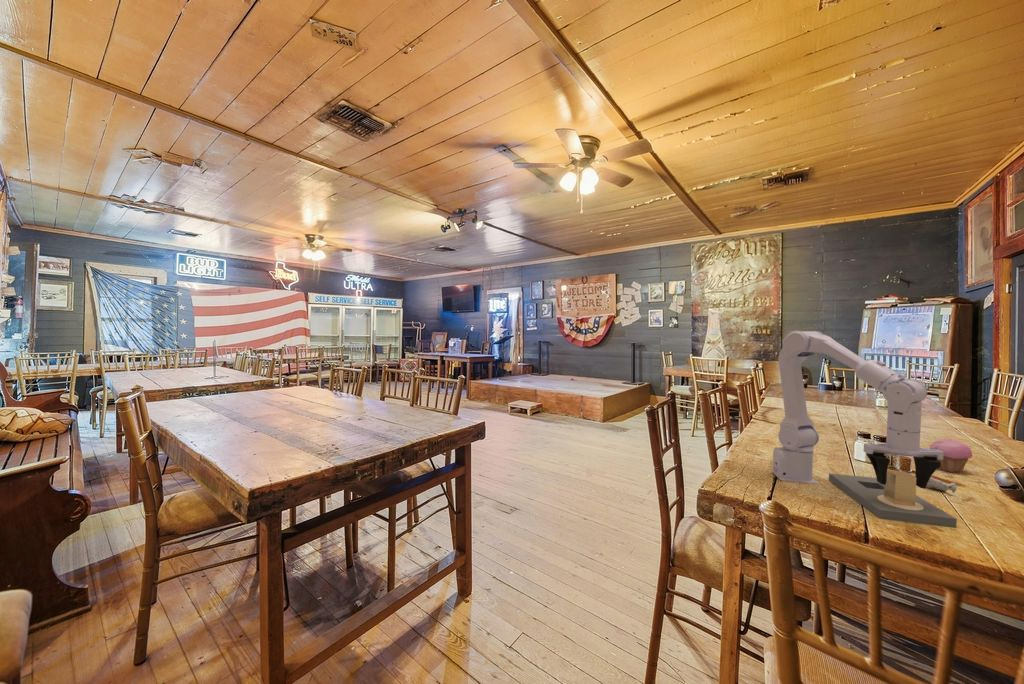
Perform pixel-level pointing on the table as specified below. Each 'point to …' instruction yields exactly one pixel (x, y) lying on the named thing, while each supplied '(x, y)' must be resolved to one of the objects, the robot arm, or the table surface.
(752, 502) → the table surface
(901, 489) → the brass post
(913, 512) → the board
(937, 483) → the soldier figure
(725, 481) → the table surface
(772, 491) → the table surface
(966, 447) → the cupcake
